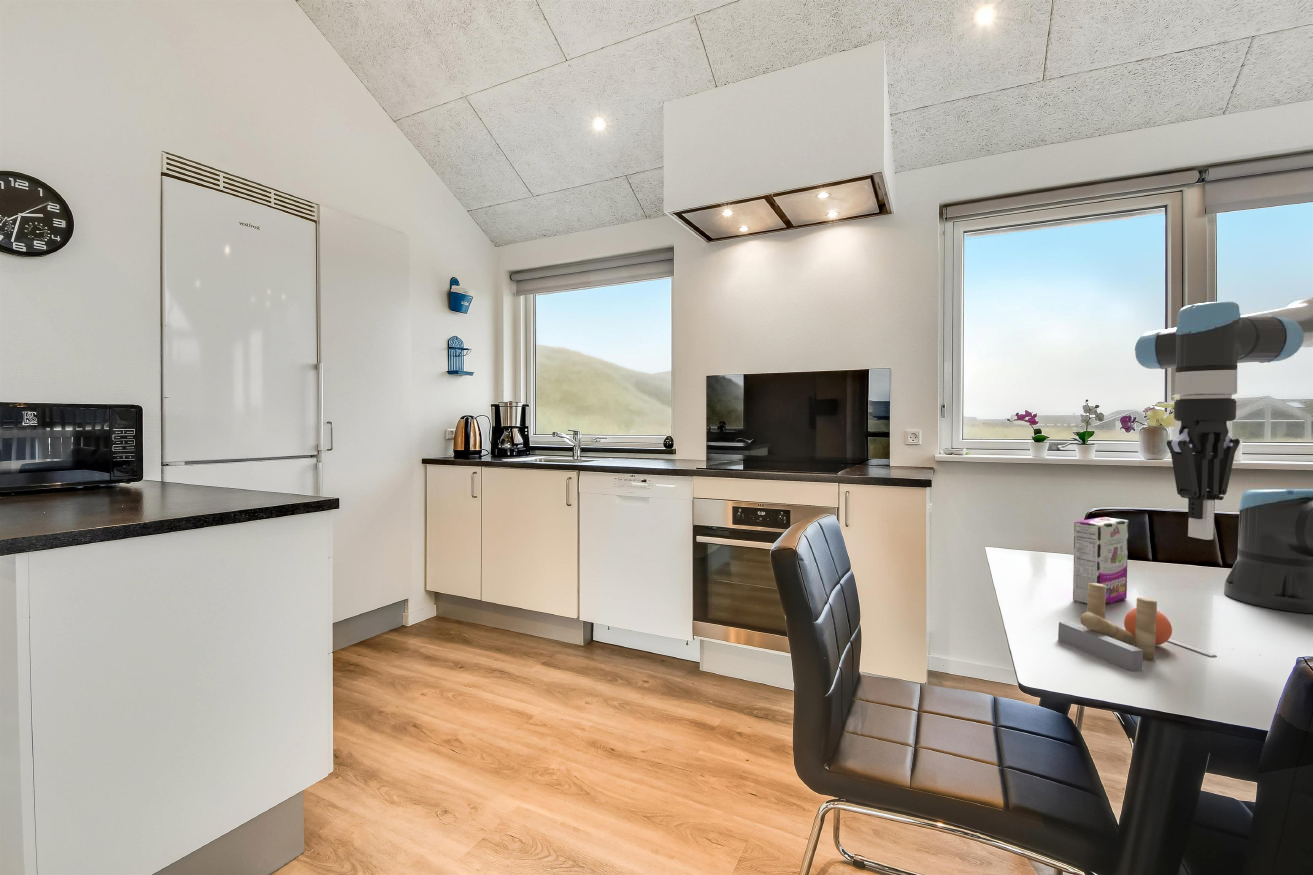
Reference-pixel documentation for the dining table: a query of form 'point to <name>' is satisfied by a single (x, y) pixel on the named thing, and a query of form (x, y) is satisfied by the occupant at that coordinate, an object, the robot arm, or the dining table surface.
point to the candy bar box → (1100, 557)
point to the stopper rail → (1101, 645)
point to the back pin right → (1096, 599)
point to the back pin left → (1146, 627)
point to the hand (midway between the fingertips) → (1200, 537)
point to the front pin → (1106, 628)
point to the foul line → (1191, 648)
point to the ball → (1161, 626)
